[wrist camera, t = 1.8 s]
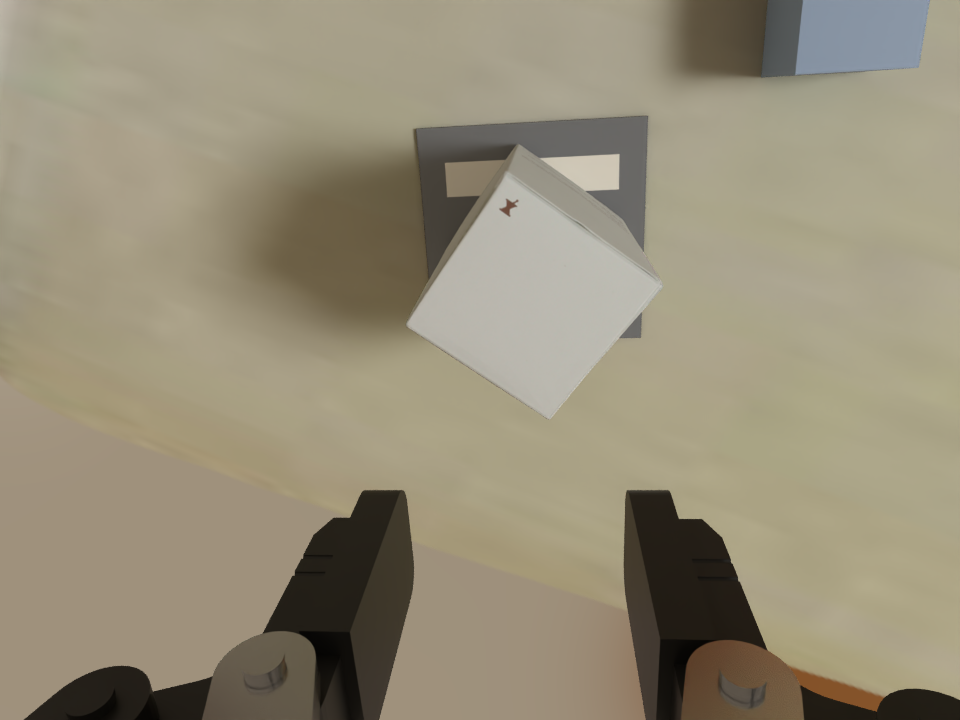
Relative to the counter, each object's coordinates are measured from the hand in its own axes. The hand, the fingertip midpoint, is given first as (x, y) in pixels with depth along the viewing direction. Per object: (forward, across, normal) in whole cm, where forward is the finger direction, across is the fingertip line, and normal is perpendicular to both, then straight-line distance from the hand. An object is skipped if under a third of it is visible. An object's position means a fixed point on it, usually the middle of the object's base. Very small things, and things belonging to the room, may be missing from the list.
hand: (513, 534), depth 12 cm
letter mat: (+27, 0, 0) cm, 27 cm away
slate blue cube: (+27, -14, -10) cm, 32 cm away
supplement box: (+27, 0, 0) cm, 27 cm away
